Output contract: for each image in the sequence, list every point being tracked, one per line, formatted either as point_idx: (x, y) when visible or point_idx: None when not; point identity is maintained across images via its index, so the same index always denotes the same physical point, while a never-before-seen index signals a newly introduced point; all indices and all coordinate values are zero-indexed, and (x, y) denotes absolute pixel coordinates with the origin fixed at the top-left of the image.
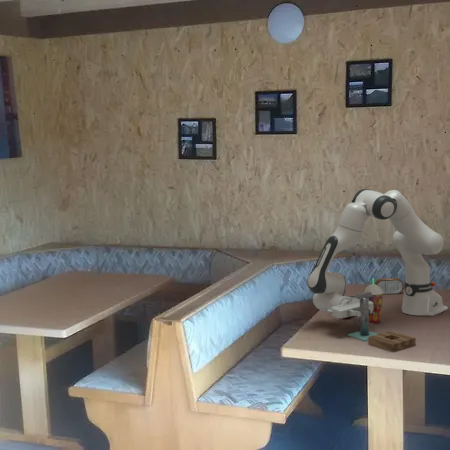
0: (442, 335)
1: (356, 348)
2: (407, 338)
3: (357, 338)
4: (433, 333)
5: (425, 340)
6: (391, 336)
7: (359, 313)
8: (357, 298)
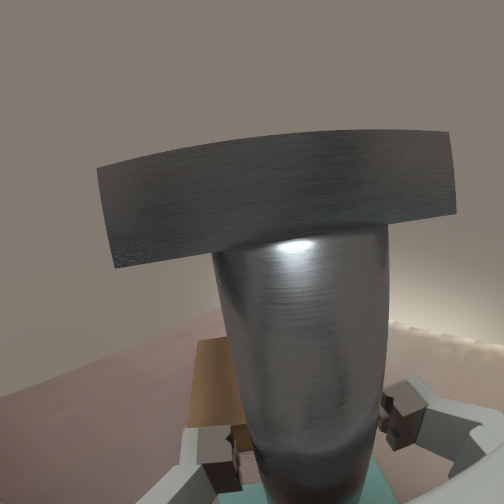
0: (62, 379)
1: (441, 385)
2: (226, 344)
3: (394, 499)
4: (52, 398)
5: (135, 378)
6: None
7: (408, 383)
8: (440, 205)
